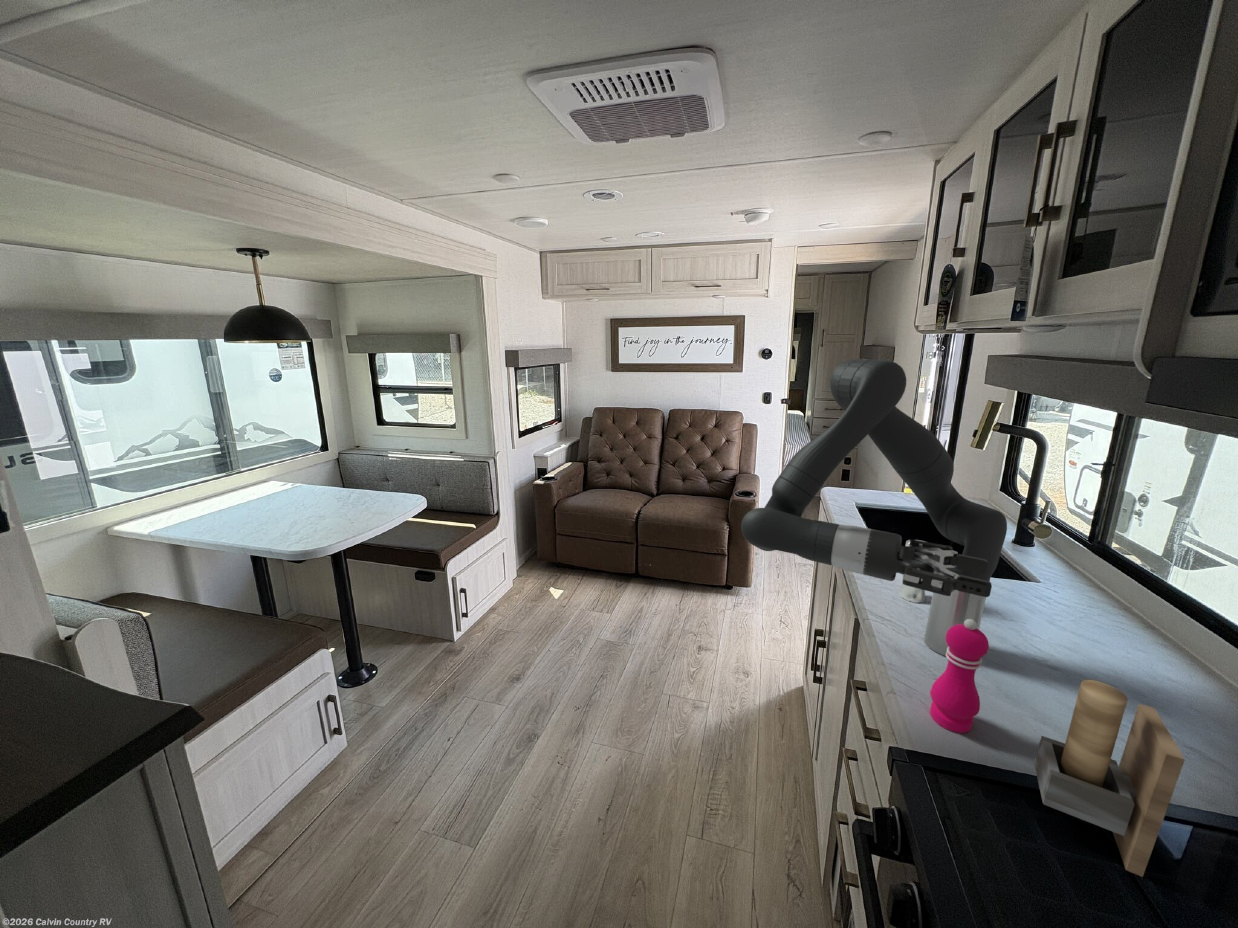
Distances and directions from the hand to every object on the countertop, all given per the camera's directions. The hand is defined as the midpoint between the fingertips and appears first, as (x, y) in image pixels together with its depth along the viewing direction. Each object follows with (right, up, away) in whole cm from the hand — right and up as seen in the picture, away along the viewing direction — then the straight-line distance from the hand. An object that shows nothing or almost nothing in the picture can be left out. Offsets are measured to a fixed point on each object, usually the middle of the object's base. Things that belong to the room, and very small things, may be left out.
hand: (988, 577), depth 71 cm
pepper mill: (+5, -29, +16) cm, 34 cm away
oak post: (+10, -29, -3) cm, 31 cm away
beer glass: (+24, -19, +58) cm, 66 cm away
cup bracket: (+11, -34, -3) cm, 36 cm away
